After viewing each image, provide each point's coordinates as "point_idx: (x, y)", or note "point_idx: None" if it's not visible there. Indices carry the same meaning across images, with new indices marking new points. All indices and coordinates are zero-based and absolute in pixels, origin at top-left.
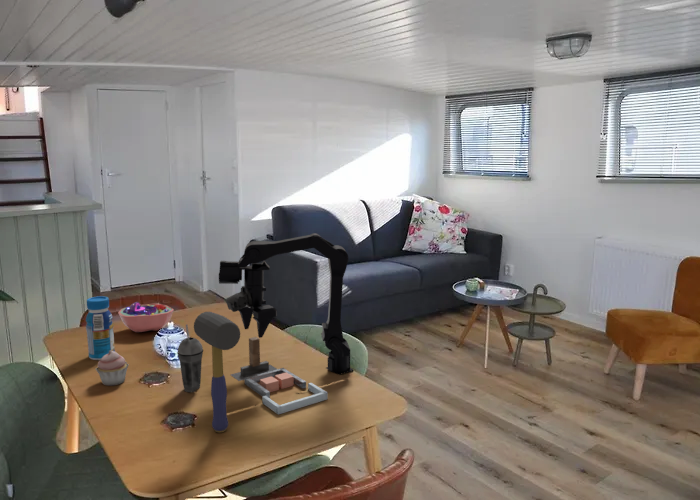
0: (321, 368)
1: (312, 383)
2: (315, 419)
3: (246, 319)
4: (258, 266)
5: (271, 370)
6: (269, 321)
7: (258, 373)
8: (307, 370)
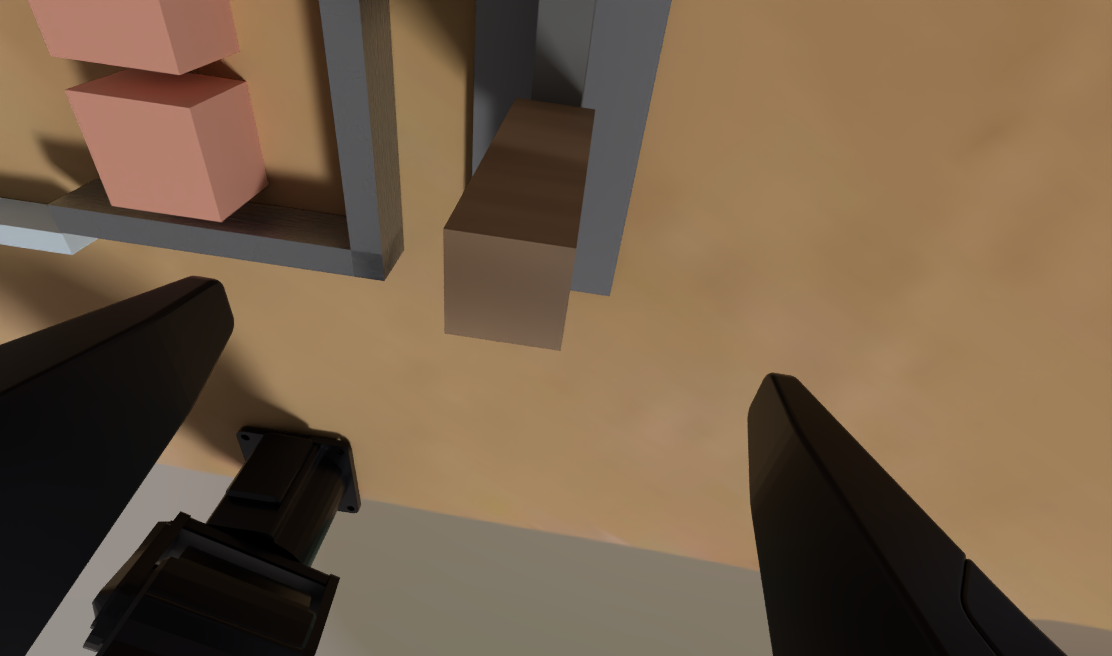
0: (377, 438)
1: (52, 251)
2: None
3: (816, 575)
4: None
5: None
6: None
7: None
8: (394, 384)
